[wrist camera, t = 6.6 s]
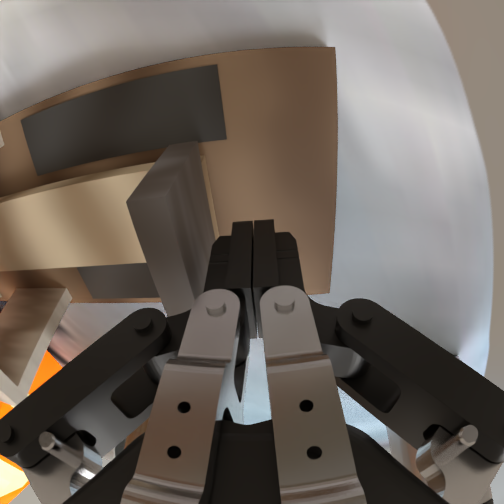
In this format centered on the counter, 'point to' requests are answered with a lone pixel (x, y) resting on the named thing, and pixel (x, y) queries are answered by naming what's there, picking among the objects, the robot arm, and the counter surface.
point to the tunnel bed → (149, 150)
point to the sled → (120, 223)
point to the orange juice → (3, 470)
